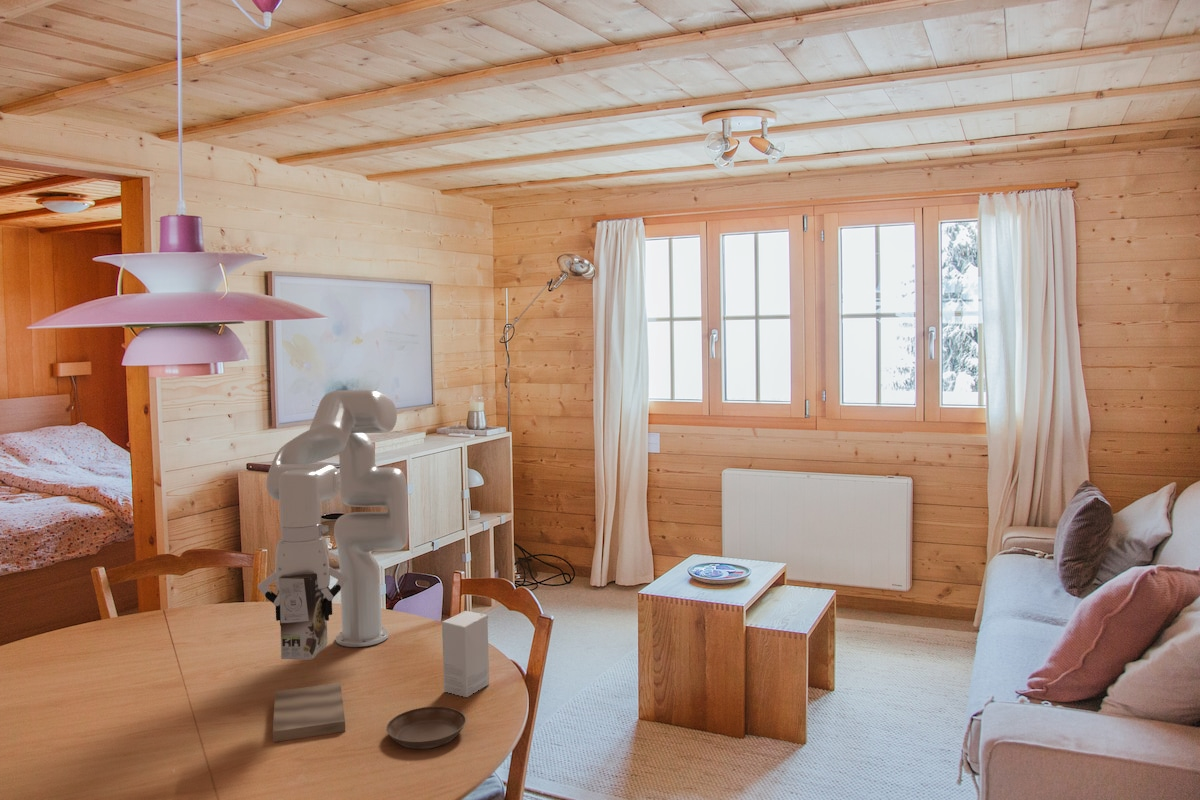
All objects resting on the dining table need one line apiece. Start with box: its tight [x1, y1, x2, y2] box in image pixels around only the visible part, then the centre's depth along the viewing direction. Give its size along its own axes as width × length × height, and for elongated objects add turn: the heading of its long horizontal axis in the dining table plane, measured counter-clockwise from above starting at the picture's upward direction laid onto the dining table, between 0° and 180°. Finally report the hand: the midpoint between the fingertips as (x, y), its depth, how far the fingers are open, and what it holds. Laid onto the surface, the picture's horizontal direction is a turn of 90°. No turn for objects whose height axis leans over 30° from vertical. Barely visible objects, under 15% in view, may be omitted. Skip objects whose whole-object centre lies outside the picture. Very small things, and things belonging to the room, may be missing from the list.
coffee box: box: [279, 574, 328, 661], centre depth 178 cm, size 9×6×16 cm
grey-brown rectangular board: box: [272, 682, 346, 743], centre depth 180 cm, size 20×13×2 cm, turn 18°
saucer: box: [386, 706, 467, 750], centre depth 171 cm, size 15×15×3 cm
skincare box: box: [441, 610, 490, 698], centre depth 192 cm, size 8×7×16 cm
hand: (304, 620), depth 178 cm, fingers closed on coffee box, 7 cm apart
